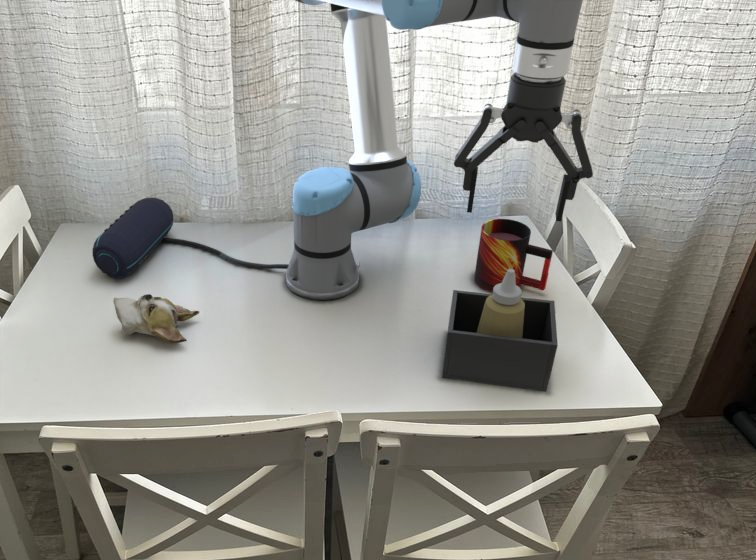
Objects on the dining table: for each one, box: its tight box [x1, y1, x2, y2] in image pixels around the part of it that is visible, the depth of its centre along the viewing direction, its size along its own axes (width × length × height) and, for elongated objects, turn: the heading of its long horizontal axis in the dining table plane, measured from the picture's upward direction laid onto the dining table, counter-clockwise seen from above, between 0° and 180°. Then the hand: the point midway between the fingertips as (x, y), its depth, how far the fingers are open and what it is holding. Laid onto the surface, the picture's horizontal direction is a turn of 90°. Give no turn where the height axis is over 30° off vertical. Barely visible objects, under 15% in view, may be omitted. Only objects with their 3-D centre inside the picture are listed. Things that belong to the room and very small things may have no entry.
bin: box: [441, 289, 559, 393], centre depth 126 cm, size 18×14×10 cm
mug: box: [473, 218, 554, 293], centre depth 147 cm, size 10×14×12 cm
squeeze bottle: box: [477, 269, 525, 338], centre depth 123 cm, size 8×8×18 cm
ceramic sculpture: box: [112, 293, 200, 344], centre depth 135 cm, size 11×9×15 cm
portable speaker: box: [92, 197, 174, 279], centre depth 159 cm, size 25×10×10 cm, turn 164°
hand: (513, 213), depth 113 cm, fingers open, 13 cm apart
